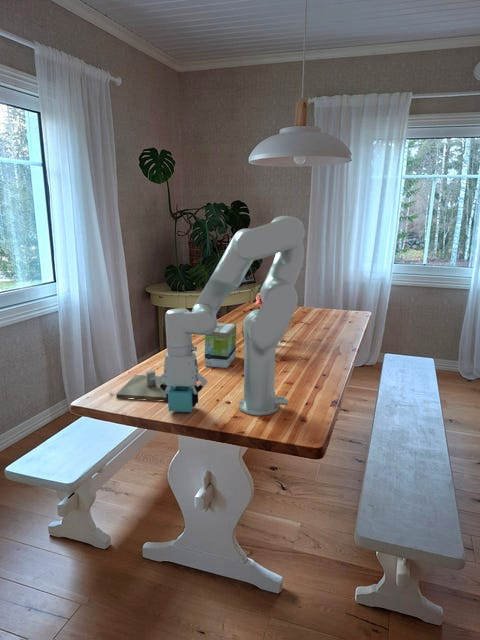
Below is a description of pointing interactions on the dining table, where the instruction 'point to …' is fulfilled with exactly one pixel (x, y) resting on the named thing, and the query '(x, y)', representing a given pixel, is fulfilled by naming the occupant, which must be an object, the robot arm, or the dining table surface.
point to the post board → (143, 388)
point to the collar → (180, 399)
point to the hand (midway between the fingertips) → (182, 404)
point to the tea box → (220, 346)
